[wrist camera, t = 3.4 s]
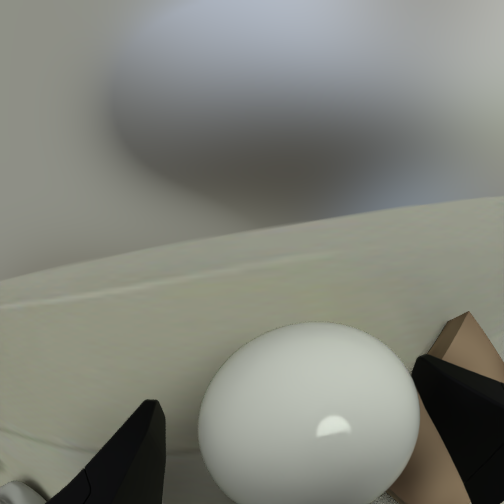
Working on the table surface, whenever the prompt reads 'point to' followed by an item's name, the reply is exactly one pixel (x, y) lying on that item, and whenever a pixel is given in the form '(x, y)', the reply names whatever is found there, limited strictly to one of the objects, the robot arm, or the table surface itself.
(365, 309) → the table surface
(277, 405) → the lightbulb
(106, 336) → the table surface
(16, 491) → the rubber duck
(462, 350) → the walnut plinth
